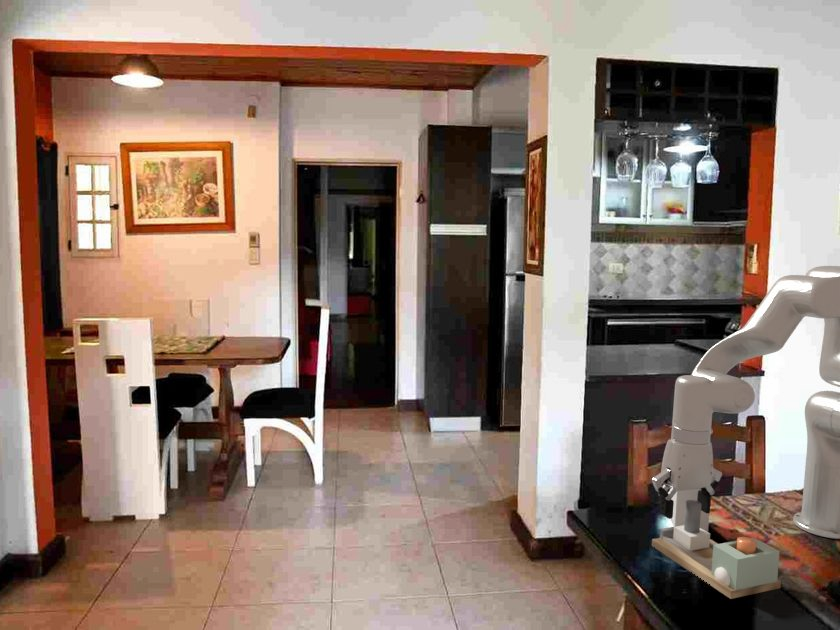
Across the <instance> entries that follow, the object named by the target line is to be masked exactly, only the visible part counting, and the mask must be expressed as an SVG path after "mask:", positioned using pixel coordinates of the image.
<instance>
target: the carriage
mask: <svg viewBox="0 0 840 630" xmlns="http://www.w3.org/2000/svg"><path fill="white" fill-rule="evenodd" d="M700 517H701V503H700V502H698V501H695V500H687V501H686V507H685V524H684V525H682V526H677V527H674V526H673V527H674V534H673V540H675V541H676V542H678V543H679V544H681V545H682V546H684V547H686V548H687V549H689V550H690V551H692V550H698V549H703V548H709V544H710V539H711V533H710V532H709V531H708V532H706V531H705V530H703V529H701V528H700Z"/></svg>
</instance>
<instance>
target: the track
mask: <svg viewBox="0 0 840 630" xmlns="http://www.w3.org/2000/svg"><path fill="white" fill-rule="evenodd" d="M681 526H682V525H681ZM675 527H677V526H675ZM673 534H674V526H671V527H670V526H669V527H665V528H660V530H659V537H657V538H652V539H651V546H652V548H654V547H655V548H654V549H656V550H657V551H659V552H660V553H661V554H663V555H664V556H666V557H668V558H669V559H670V560H672V561H673V562H675V563H677V564H678V565H679V566H681V567H682V568H684V569H685V570H687V571H688V572H689V573H691V572H692V573H691V574H693V575H694V574H695V575H694V576H696V577H697V576H698V578H699V579H700V578H701V581H703V580H704V581H703V582H704V583H706V582H707V583H706V584H707V585H709V584H710V585H709V586H711V587H712V588H714V589H715V590H716V591H718V592H719V593H721V594H723V595H724V596H725V597H727V598H729V599H730V600H732V599H736V598H741V597H746V596H751V595H755V594H759V593H758V592H759V591H761V592H760V593H765V592H769V591H773V590H777V589H781V585H782V580H780V579H779V578H778V577H777V582H772V583H774V584H775V583H776V585H777V586H776V585H774V584H773V586H772V584H771V583H770V586H767V585H766V586H765V584H763V585H764V588H763V585H761V586H760V585H758V587H759V586H760V587H762V588H744V589H745V594H744V593H743V592H744V591H743V589H742V592H741V590H734V589H733V588H731V587H730V586H728V587H727V586H726V585H724V584H723V583H721V582H720V581H718V580H717V579H715V577H714V576H713V575H711V571H712V556H713V545H716V544H719V543H718V542H716V541H714V540H713V539H711V538H710V544H709V548H703V549H698V550H692V551H690V550H689V549H687V548H686V547H684V546H682V545H681V544H679V543H678V542H676V541H675V540H673ZM767 584H768V583H767ZM768 585H769V584H768ZM754 587H757V586H754ZM767 587H768V588H767ZM773 587H777V588H773ZM750 589H752V591H751V590H750ZM753 589H754V590H753ZM758 589H759V591H758ZM761 589H765V590H763V591H762V590H761ZM766 589H767V591H766ZM770 589H771V590H770ZM749 590H750V591H749ZM735 591H736V592H735ZM748 591H749V592H748ZM754 591H755V592H756V593H755V592H754ZM757 591H758V592H757ZM750 592H751V593H750ZM752 592H753V594H752ZM735 593H737V594H735ZM739 594H740V595H739ZM743 594H744V595H743ZM747 594H749V595H747ZM735 596H737V597H736V598H735ZM738 596H739V597H738Z"/></svg>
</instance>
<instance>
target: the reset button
mask: <svg viewBox="0 0 840 630" xmlns="http://www.w3.org/2000/svg"><path fill="white" fill-rule="evenodd" d="M751 538H752V537H747V536H738V537H737V539H736V541H737V550H738V551H740V552H742V553H743V554H745V555H750V554H755V550H756V541H755V540H753V539H751Z"/></svg>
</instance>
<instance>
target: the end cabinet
mask: <svg viewBox="0 0 840 630" xmlns="http://www.w3.org/2000/svg"><path fill="white" fill-rule="evenodd" d="M750 538H751V539H753V540H755V541H756V550H755V554H750V555H745V554H743V553H742V552H740V551H738V550H737V540H732V541H727V542H723V543H718V544H716V545H713V556H712V571H711V575H713V576H714V577H715V579H717V580H718V581H720V582H721V583H723V584H724V585H726V586H727V587H728V586H730V587H731V588H733V589H734V590H741V592H742V589H743V591H744V592H743V593H744V594H745V589H744V588H762V587H760V586H761V585H763V584H765V586H766V585H767V586H770V583H771V584H772V586H773V584H774V583H772V582H777V578H778V574H779V563H780V562H779V560H780V550H778V549H776V548H774V547H772V546H771V545H769V544H766V543H765V542H763V541H762V540H759V539H758V538H756V537H750ZM767 583H768V584H769V585H768V584H767ZM758 585H760V586H759V587H758ZM774 585H776V583H775V584H774ZM754 586H757V587H754ZM776 586H777V585H776ZM763 588H764V585H763ZM767 588H768V587H767ZM773 588H777V587H773ZM750 590H751V591H752V589H750ZM750 590H749V591H750ZM753 590H754V589H753ZM761 590H762V591H763V590H765V589H761ZM749 591H748V592H749ZM758 591H759V589H758ZM758 591H757V592H758ZM769 591H772V590H771V589H770V590H769ZM735 592H736V591H735ZM754 592H755V591H754ZM765 592H768V591H767V589H766V591H765ZM750 593H751V592H750ZM755 593H756V592H755ZM759 593H762V592H761V591H759V592H758V593H756V594H759ZM735 594H737V593H735ZM744 594H743V595H744ZM739 595H740V594H739ZM751 595H754V594H753V592H752V594H751ZM747 596H750V595H749V594H747ZM736 597H737V596H735V598H734V599H736ZM737 598H740V597H739V596H738V597H737Z"/></svg>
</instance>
